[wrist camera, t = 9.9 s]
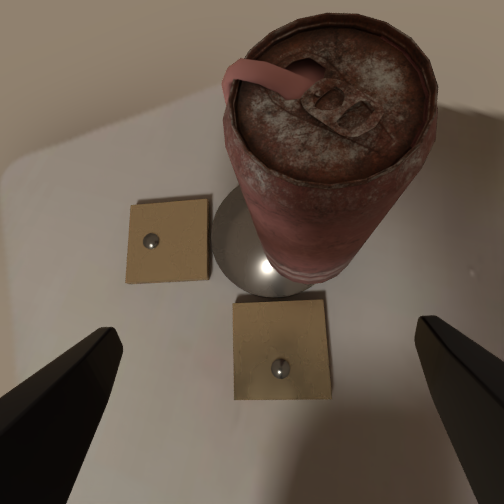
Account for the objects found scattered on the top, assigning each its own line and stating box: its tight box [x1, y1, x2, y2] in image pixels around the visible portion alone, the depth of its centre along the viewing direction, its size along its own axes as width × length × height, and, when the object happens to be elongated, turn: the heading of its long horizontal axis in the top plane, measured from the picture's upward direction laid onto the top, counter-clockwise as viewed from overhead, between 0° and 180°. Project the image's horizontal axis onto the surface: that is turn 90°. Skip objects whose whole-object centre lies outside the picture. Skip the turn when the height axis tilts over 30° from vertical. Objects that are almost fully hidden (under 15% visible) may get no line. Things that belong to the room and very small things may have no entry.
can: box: [222, 13, 438, 284], centre depth 15 cm, size 6×6×14 cm
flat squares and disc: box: [125, 185, 332, 400], centre depth 22 cm, size 15×15×1 cm
